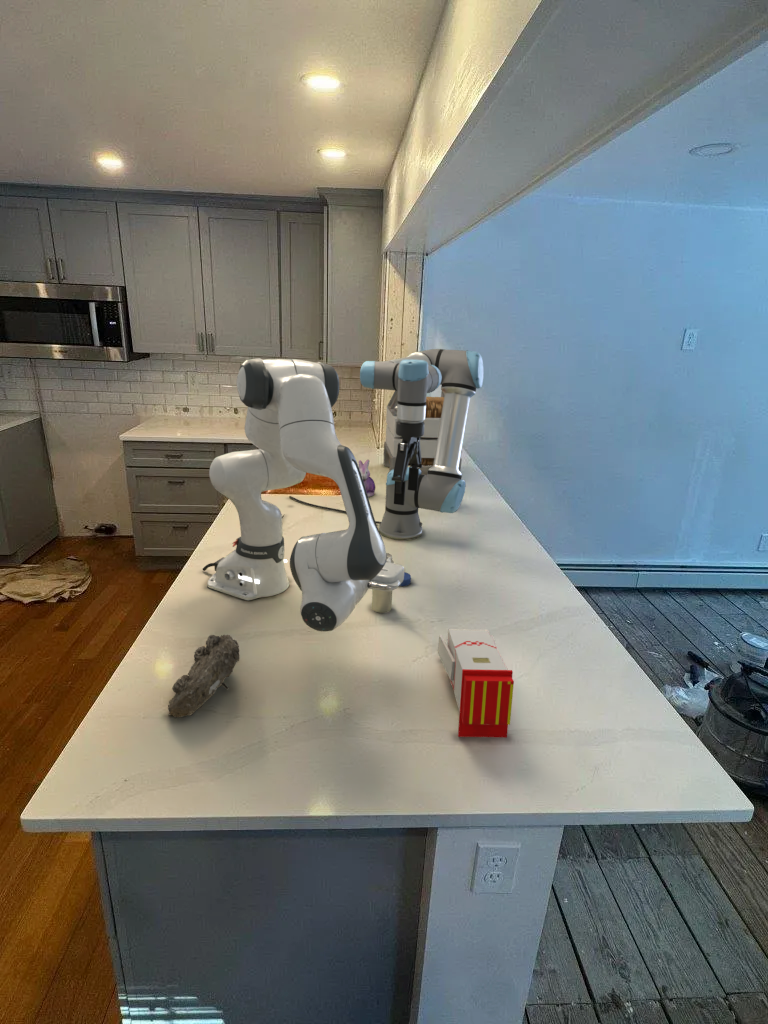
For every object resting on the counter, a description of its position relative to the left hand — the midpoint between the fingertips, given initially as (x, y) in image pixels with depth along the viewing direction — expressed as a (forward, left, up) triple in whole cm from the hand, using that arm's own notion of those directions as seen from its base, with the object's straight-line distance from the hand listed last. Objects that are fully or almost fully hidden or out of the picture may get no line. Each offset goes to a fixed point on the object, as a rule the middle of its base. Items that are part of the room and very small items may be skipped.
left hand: (368, 556), depth 131 cm
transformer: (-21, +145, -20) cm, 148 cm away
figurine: (-35, +102, -20) cm, 110 cm away
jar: (0, +13, -20) cm, 24 cm away
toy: (+28, -14, -20) cm, 37 cm away
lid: (+1, +30, -19) cm, 35 cm away
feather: (-53, +63, -20) cm, 85 cm away
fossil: (-23, -31, -20) cm, 44 cm away
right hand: (+1, +30, +6) cm, 31 cm away
